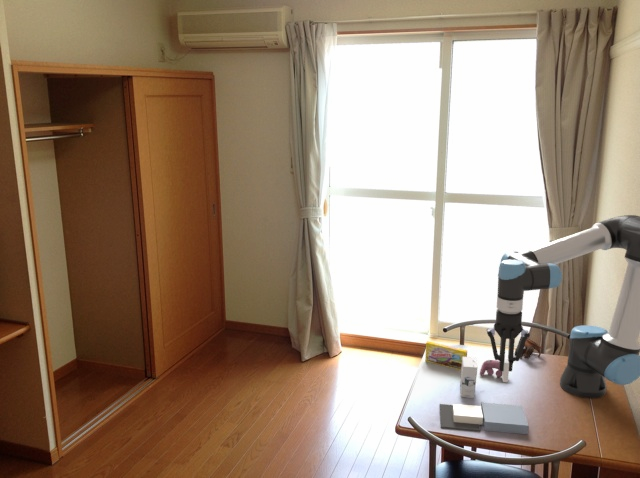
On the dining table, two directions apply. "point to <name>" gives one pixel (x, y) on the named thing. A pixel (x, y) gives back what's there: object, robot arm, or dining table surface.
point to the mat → (449, 423)
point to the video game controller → (490, 368)
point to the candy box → (444, 355)
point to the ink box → (468, 377)
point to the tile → (467, 414)
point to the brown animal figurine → (529, 349)
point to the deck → (504, 418)
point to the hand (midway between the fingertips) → (504, 379)
